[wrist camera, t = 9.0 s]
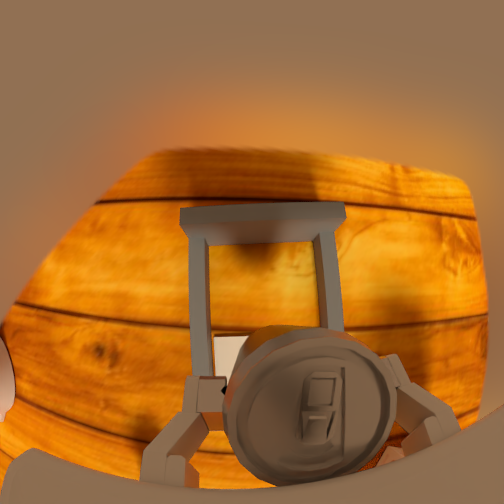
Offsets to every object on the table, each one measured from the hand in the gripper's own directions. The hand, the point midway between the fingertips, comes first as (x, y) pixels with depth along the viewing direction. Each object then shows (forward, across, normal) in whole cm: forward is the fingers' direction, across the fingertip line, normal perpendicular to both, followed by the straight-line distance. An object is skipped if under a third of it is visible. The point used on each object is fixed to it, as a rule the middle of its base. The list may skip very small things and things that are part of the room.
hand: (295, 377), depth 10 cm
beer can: (+6, 0, +6) cm, 9 cm away
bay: (+15, 0, +11) cm, 18 cm away
